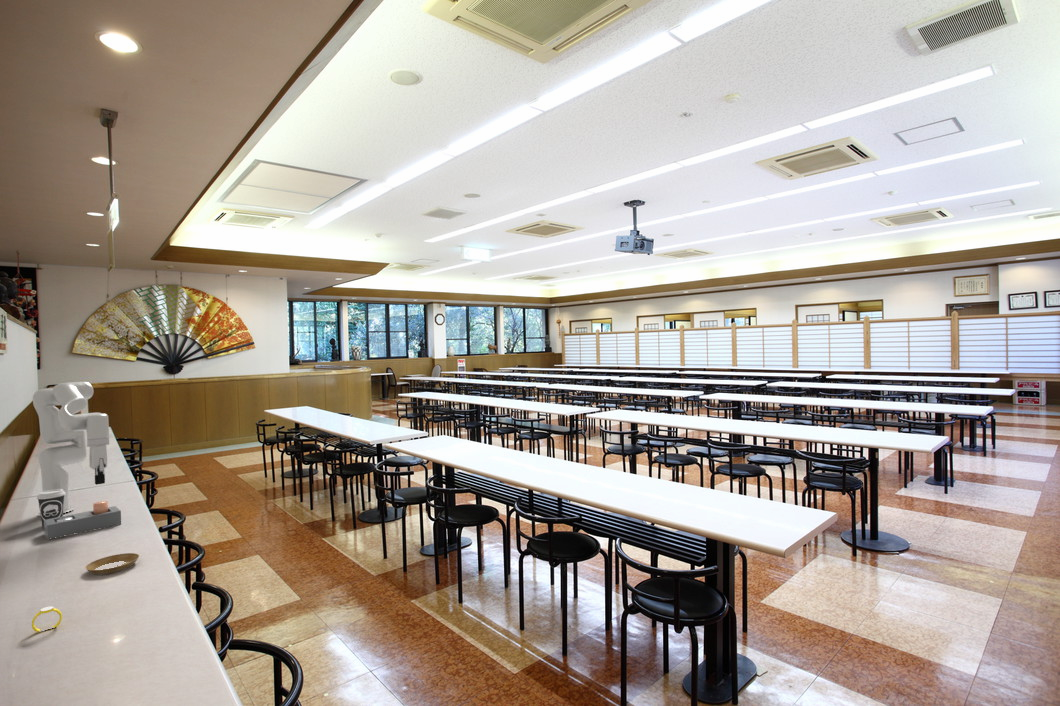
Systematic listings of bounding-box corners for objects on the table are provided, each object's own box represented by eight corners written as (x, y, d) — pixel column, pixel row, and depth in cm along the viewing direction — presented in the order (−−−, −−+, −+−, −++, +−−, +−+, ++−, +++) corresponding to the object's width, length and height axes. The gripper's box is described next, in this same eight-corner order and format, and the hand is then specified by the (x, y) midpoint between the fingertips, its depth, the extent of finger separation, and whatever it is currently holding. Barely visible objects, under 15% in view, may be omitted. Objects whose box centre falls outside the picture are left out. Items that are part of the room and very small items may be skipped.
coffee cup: (72, 521, 237) (71, 488, 237) (51, 528, 227) (49, 494, 227) (53, 521, 238) (52, 488, 238) (31, 528, 228) (30, 494, 228)
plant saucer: (76, 580, 175) (75, 572, 174) (99, 563, 189) (99, 555, 189) (127, 574, 178) (127, 566, 178) (146, 557, 193) (146, 550, 193)
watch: (61, 625, 146) (62, 603, 146) (61, 629, 143) (62, 607, 144) (31, 631, 142) (33, 609, 142) (30, 635, 140) (32, 613, 140)
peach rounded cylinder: (92, 515, 230) (92, 503, 230) (106, 512, 234) (106, 500, 234) (94, 517, 227) (94, 505, 227) (109, 514, 231) (108, 502, 231)
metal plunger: (56, 532, 221) (55, 519, 221) (71, 529, 225) (71, 516, 225) (58, 534, 218) (57, 521, 218) (73, 531, 222) (73, 518, 222)
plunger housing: (44, 534, 221) (43, 520, 221) (115, 519, 239) (115, 506, 239) (47, 540, 213) (47, 525, 213) (121, 524, 231) (120, 510, 231)
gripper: (84, 441, 232) (85, 483, 232) (90, 445, 222) (92, 488, 222) (105, 439, 238) (107, 479, 238) (112, 442, 228) (114, 484, 228)
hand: (100, 483), depth 230 cm, fingers closed
